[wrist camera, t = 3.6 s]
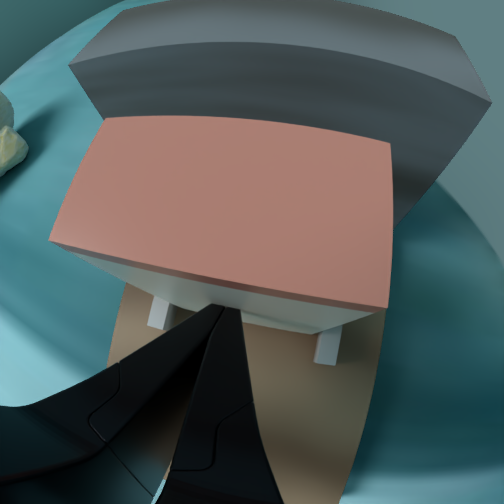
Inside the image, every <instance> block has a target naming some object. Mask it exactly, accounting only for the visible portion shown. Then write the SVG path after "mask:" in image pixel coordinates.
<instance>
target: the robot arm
mask: <svg viewBox="0 0 504 504" xmlns="http://www.w3.org/2000/svg"><path fill="white" fill-rule="evenodd" d="M171 461H172V462H171ZM170 463H171V466H170V471H169V473H168V476H167V479H166V482H165V485H164V487H163V490H162V492H161V494H160V496H159V498H158V499H157V501H156V503H155V504H284V501H283V499H282V497H281V494H280V491H279V489H278V486H277V483H276V480H275V478H274V475H273V472H272V469H271V467H270V464H269V461H268V458H267V455H266V452H265V449H264V446H263V442H262V439H261V435H260V431H259V426H258V421H257V416H256V410H255V404H254V398H253V391H252V385H251V378H250V372H249V365H248V358H247V351H246V344H245V337H244V330H243V323H242V316H241V310H240V309H236V308H232V307H226V308H225V306H222V305H218V304H213V303H211V304H209V305H207V306H206V307H204V308H203V309H201V310H200V311H198V312H196V313H195V314H193V315H192V316H190V317H189V318H187V319H185V320H184V321H182V322H181V323H179V324H177V325H176V326H174V327H173V328H171V329H170V330H168V331H166V332H165V333H163V334H162V335H160V336H158V337H157V338H155V339H154V340H152V341H150V342H149V343H147V344H146V345H144V346H142V347H141V348H139V349H138V350H136V351H134V352H133V353H131V354H129V355H128V356H126V357H125V358H123V359H121V360H120V361H119V363H118V362H116V363H115V364H113V365H111V366H110V367H108V368H106V369H105V370H103V371H101V372H99V373H98V374H96V375H94V376H92V377H90V378H88V379H86V380H84V381H82V382H80V383H78V384H76V385H74V386H72V387H70V388H68V389H65V390H63V391H61V392H59V393H56V394H54V395H52V396H49V397H47V398H45V399H43V400H40V401H38V402H35V403H33V404H30V405H26V406H19V407H8V406H0V504H151V502H152V500H153V497H154V496H155V494H156V492H157V490H158V488H159V486H160V484H161V482H162V480H163V478H164V476H165V473H166V471H167V469H168V467H169V465H170Z"/></svg>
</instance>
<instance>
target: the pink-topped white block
mask: <svg viewBox="0 0 504 504" xmlns="http://www.w3.org/2000/svg"><path fill="white" fill-rule="evenodd" d="M49 241H51V242H52V243H54V244H56V245H58V246H59V247H61V248H63V249H65V250H66V251H68V252H70V253H72V254H74V255H75V256H77V257H79V258H81V259H83V260H85V261H86V262H88V263H90V264H92V265H94V266H96V267H98V268H100V269H102V270H103V271H105V272H107V273H109V274H111V275H113V276H115V277H117V278H119V279H121V280H123V281H125V282H127V283H129V284H131V285H133V286H135V287H137V288H140V289H142V290H144V291H146V292H148V293H150V294H152V295H154V296H156V297H159V298H161V299H163V300H165V301H167V302H170V303H172V304H174V305H176V306H178V307H181V308H183V309H187V310H191V311H195V312H198V311H200V310H201V309H203V308H204V307H206V306H207V305H209V304H211V303H213V304H218V305H222V306H225V308H226V307H232V308H236V309H240V310H241V316H242V322H245V323H250V324H255V325H260V326H266V327H271V328H276V329H282V330H287V331H293V332H299V333H305V334H314V333H318V332H321V331H324V330H327V329H330V328H333V327H336V326H339V325H342V324H345V323H348V322H351V321H354V320H357V319H359V318H362V317H365V316H368V315H371V314H373V313H376V312H379V311H381V310H384V309H387V308H388V301H389V291H390V279H391V265H392V244H393V181H392V161H391V147H390V143H387V142H383V141H379V140H375V139H371V138H366V137H362V136H357V135H353V134H348V133H343V132H338V131H332V130H327V129H321V128H315V127H309V126H302V125H295V124H288V123H280V122H272V121H263V120H253V119H241V118H227V117H209V116H131V117H114V118H105V120H104V122H103V123H102V125H101V127H100V129H99V130H98V132H97V134H96V136H95V137H94V139H93V141H92V143H91V145H90V147H89V148H88V150H87V152H86V154H85V156H84V158H83V160H82V162H81V164H80V166H79V168H78V170H77V172H76V174H75V176H74V178H73V181H72V183H71V185H70V187H69V189H68V192H67V194H66V196H65V199H64V201H63V203H62V206H61V208H60V211H59V213H58V216H57V218H56V221H55V224H54V226H53V229H52V232H51V234H50V237H49Z"/></svg>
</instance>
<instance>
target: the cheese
mask: <svg viewBox="0 0 504 504" xmlns="http://www.w3.org/2000/svg"><path fill="white" fill-rule="evenodd" d="M13 126H14V110H13V107H12V104H11V102H10V101H9V100H8V99H7V97H6V96H5V95H4V94H3V93H2V92H1V91H0V177H1V176H3V175H4V174H5V173H6V171H7V170H9V169H11V168H13V167H14V166H15V165H17V164H18V163H20V162H22V161H23V160H24V158H25V157H26V155H27V152H28V148H29V147H28V145H27V143H26V141H25V140H24V139H23V138H22V137H21V136H20V135H19V134H18V133H17V132H16V131H14V129H13Z"/></svg>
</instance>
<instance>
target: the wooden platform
mask: <svg viewBox="0 0 504 504" xmlns="http://www.w3.org/2000/svg"><path fill="white" fill-rule="evenodd" d="M68 66H69V67H70V69H71V70H72V72H73V74H74V75H75V77H76V78H77V80H78V82H79V83H80V85H81V86H82V88H83V89H84V91H85V92H86V94H87V95H88V97H89V99H90V100H91V102H92V103H93V105H94V106H95V108H96V109H97V111H98V112H99V114H100V115H101V117H102V118H103V120H105V118H114V117H131V116H209V117H227V118H241V119H253V120H263V121H272V122H280V123H288V124H295V125H302V126H309V127H315V128H321V129H327V130H332V131H338V132H343V133H348V134H353V135H357V136H362V137H366V138H371V139H375V140H379V141H383V142H387V143H390V147H391V161H392V181H393V229H394V228H395V227H396V226H397V225H398V223H399V222H400V221H401V220H402V219H403V218H404V217H405V216H406V214H407V213H408V212H409V211H410V210H411V209H412V208H413V206H414V205H415V204H416V203H417V202H418V201H419V199H420V198H421V197H422V196H423V195H424V193H425V192H426V191H427V190H428V189H429V187H430V186H431V185H432V184H433V183H434V181H435V180H436V179H437V178H438V176H439V175H440V174H441V173H442V171H443V170H444V169H445V168H446V166H447V165H448V164H449V162H450V161H451V160H452V159H453V157H454V156H455V155H456V153H457V152H458V151H459V149H460V148H461V147H462V145H463V144H464V143H465V141H466V140H467V139H468V137H469V136H470V134H471V133H472V132H473V130H474V129H475V127H476V126H477V125H478V123H479V122H480V120H481V119H482V117H483V116H484V114H485V113H486V112H487V110H488V108H489V107H490V106H491V104H492V102H491V99H490V98H489V95H488V93H487V91H486V89H485V87H484V85H483V83H482V81H481V79H480V77H479V75H478V74H477V72H476V70H475V68H474V66H473V65H472V63H471V61H470V60H469V58H468V56H467V54H466V53H465V51H464V50H463V48H462V46H461V45H460V43H459V42H458V40H457V39H456V37H455V36H453V35H451V34H448V33H446V32H444V31H441V30H439V29H436V28H434V27H431V26H428V25H426V24H423V23H420V22H417V21H414V20H411V19H408V18H405V17H402V16H399V15H396V14H392V13H389V12H385V11H381V10H377V9H373V8H369V7H364V6H360V5H355V4H351V3H345V2H340V1H334V0H170V1H164V2H158V3H153V4H148V5H143V6H139V7H134V8H130V9H126V10H123V11H122V12H120V13H119V14H118V15H117V16H116V17H115V18H114V19H112V20H111V21H110V22H109V23H108V24H107V25H106V26H105V27H104V28H103V29H102V30H101V31H100V32H99V33H98V34H97V35H96V36H95V37H94V38H93V39H92V40H91V41H90V42H89V43H88V44H87V45H86V46H85V47H84V48H83V49H82V50H81V51H80V52H79V53H78V54H77V55H76V57H75V58H74V59H73V60H72V61H71V62H70V63H69V65H68ZM195 313H196V312H195V311H191V310H187V309H183V308H181V307H178V306H176V305H174V304H172V303H170V302H167V301H165V300H163V299H161V298H159V297H156V296H154V295H152V294H150V293H148V292H146V291H144V290H142V289H140V288H137V287H135V286H133V285H131V284H129V283H127V282H126V285H125V289H124V292H123V296H122V300H121V304H120V308H119V312H118V316H117V320H116V324H115V329H114V333H113V338H112V343H111V347H110V352H109V357H108V363H107V368H108V367H110V366H111V365H113V364H115V363H116V362H118V363H119V361H120V360H121V359H123V358H125V357H126V356H128V355H129V354H131V353H133V352H134V351H136V350H138V349H139V348H141V347H142V346H144V345H146V344H147V343H149V342H150V341H152V340H154V339H155V338H157V337H158V336H160V335H162V334H163V333H165V332H166V331H168V330H170V329H171V328H173V327H174V326H176V325H177V324H179V323H181V322H182V321H184V320H185V319H187V318H189V317H190V316H192V315H193V314H195ZM385 315H386V309H384V310H381V311H379V312H376V313H373V314H371V315H368V316H365V317H362V318H359V319H357V320H354V321H351V322H348V323H345V324H342V325H339V326H336V327H333V328H330V329H327V330H324V331H321V332H318V333H314V334H305V333H299V332H293V331H287V330H282V329H276V328H271V327H266V326H260V325H255V324H250V323H245V322H242V323H243V330H244V337H245V344H246V351H247V358H248V365H249V372H250V378H251V385H252V391H253V398H254V404H255V410H256V416H257V421H258V426H259V431H260V435H261V439H262V442H263V446H264V449H265V452H266V455H267V458H268V461H269V464H270V467H271V469H272V472H273V475H274V478H275V480H276V483H277V486H278V489H279V491H280V494H281V497H282V499H283V501H284V504H339V501H340V499H341V496H342V493H343V491H344V488H345V485H346V483H347V480H348V477H349V474H350V471H351V468H352V465H353V462H354V459H355V456H356V453H357V450H358V446H359V443H360V439H361V436H362V432H363V429H364V425H365V421H366V417H367V413H368V409H369V405H370V401H371V397H372V392H373V387H374V383H375V378H376V373H377V367H378V362H379V356H380V350H381V344H382V338H383V331H384V323H385ZM171 462H172V461H171ZM170 466H171V463H170V465H169V467H168V469H167V471H166V473H165V476H164V478H163V479H165V480H166V479H167V476H168V473H169V471H170Z"/></svg>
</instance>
